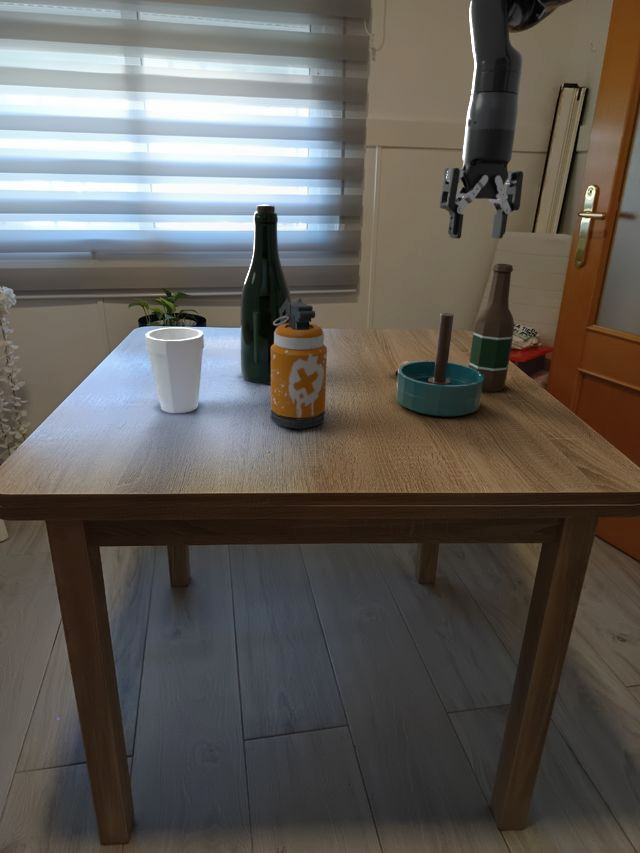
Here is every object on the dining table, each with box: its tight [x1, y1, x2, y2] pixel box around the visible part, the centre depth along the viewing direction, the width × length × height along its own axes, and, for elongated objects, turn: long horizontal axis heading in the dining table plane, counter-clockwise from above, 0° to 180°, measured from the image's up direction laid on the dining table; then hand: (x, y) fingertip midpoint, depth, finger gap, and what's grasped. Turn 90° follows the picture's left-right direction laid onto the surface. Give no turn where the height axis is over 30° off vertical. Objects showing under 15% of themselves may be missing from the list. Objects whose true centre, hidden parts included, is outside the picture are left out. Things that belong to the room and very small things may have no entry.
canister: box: [270, 297, 328, 429], centre depth 93 cm, size 9×11×20 cm
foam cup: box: [144, 327, 205, 414], centre depth 98 cm, size 10×9×13 cm
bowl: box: [395, 360, 484, 418], centre depth 105 cm, size 15×15×6 cm
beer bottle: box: [468, 263, 515, 393], centre depth 112 cm, size 8×8×24 cm
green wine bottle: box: [240, 204, 292, 384], centre depth 111 cm, size 10×10×33 cm
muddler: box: [428, 312, 455, 385], centre depth 103 cm, size 4×4×16 cm
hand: (476, 238), depth 95 cm, fingers open, 8 cm apart
